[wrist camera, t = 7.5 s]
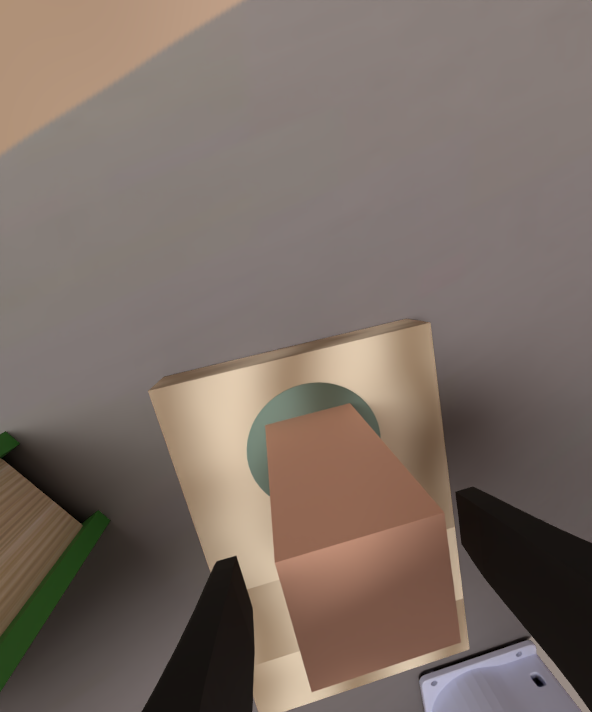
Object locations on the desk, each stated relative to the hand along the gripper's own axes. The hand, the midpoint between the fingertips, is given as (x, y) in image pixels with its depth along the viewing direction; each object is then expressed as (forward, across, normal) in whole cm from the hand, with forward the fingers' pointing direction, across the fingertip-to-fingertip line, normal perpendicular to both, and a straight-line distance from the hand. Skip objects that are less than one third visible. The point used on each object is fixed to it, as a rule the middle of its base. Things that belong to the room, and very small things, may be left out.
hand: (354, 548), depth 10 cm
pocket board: (+9, 0, +6) cm, 11 cm away
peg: (+6, 0, 0) cm, 6 cm away
